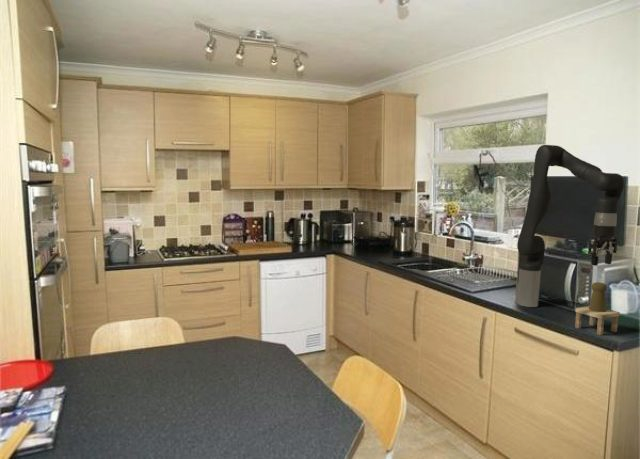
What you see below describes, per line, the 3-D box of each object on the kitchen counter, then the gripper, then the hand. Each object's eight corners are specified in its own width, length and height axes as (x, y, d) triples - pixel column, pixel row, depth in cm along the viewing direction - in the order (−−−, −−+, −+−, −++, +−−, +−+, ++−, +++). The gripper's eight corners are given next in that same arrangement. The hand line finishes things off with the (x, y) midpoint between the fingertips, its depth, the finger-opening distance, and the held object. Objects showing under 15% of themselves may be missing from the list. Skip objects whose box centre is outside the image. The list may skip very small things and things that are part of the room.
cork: (600, 308, 189) (603, 281, 188) (609, 312, 183) (611, 284, 182) (585, 307, 189) (587, 281, 188) (593, 311, 183) (595, 284, 182)
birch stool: (574, 327, 189) (575, 308, 188) (591, 323, 194) (592, 305, 193) (600, 335, 179) (602, 315, 179) (617, 331, 184) (619, 312, 184)
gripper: (607, 222, 190) (603, 261, 192) (584, 223, 184) (580, 264, 186) (625, 224, 183) (621, 265, 185) (603, 225, 177) (598, 267, 179)
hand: (601, 264), depth 185 cm, fingers open, 8 cm apart
